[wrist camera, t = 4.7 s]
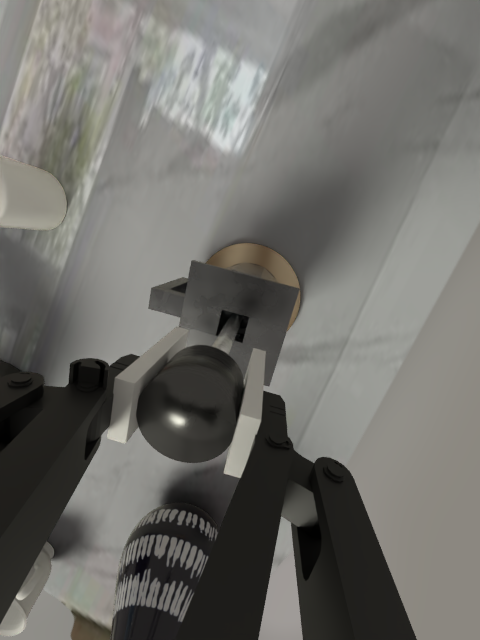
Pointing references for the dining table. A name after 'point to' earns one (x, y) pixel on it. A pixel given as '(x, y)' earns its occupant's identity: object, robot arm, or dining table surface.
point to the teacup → (28, 594)
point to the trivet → (262, 258)
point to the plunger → (195, 398)
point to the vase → (161, 571)
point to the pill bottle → (29, 197)
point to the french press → (230, 308)
